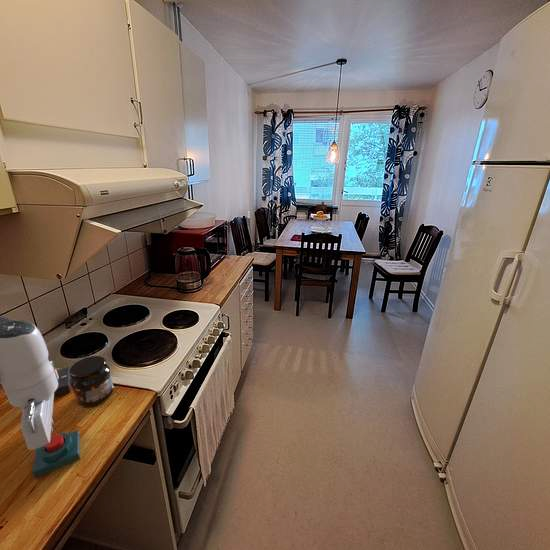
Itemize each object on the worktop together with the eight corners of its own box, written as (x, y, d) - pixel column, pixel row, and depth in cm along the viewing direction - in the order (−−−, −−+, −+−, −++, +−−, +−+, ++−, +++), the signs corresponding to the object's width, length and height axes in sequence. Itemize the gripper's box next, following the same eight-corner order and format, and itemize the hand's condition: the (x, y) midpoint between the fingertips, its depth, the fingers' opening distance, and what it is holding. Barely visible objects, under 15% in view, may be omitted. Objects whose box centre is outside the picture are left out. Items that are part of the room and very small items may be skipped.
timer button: (45, 454, 69) (43, 449, 69) (47, 443, 72) (45, 438, 71) (63, 447, 71) (62, 442, 71) (64, 436, 74) (62, 431, 73)
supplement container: (81, 387, 94) (72, 358, 90) (116, 380, 98) (109, 351, 93) (72, 412, 85) (62, 381, 81) (112, 403, 89) (104, 372, 84)
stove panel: (31, 404, 88) (28, 397, 86) (35, 384, 95) (32, 377, 94) (70, 392, 93) (67, 384, 91) (70, 373, 100) (68, 366, 99)
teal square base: (35, 478, 68) (30, 467, 66) (38, 451, 74) (34, 440, 72) (80, 459, 72) (76, 448, 71) (80, 435, 78) (76, 424, 77)
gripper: (46, 412, 58) (63, 458, 64) (52, 357, 74) (65, 397, 79) (6, 426, 55) (27, 473, 60) (21, 365, 71) (37, 407, 76)
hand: (49, 430), depth 70 cm, fingers closed
